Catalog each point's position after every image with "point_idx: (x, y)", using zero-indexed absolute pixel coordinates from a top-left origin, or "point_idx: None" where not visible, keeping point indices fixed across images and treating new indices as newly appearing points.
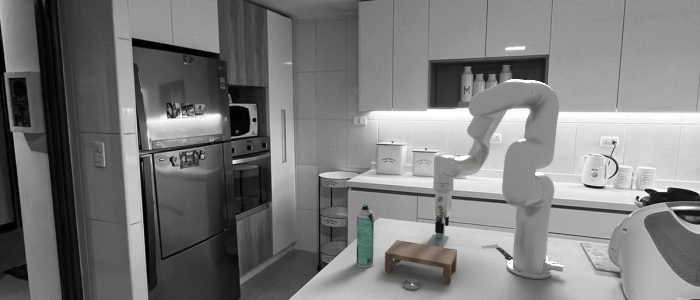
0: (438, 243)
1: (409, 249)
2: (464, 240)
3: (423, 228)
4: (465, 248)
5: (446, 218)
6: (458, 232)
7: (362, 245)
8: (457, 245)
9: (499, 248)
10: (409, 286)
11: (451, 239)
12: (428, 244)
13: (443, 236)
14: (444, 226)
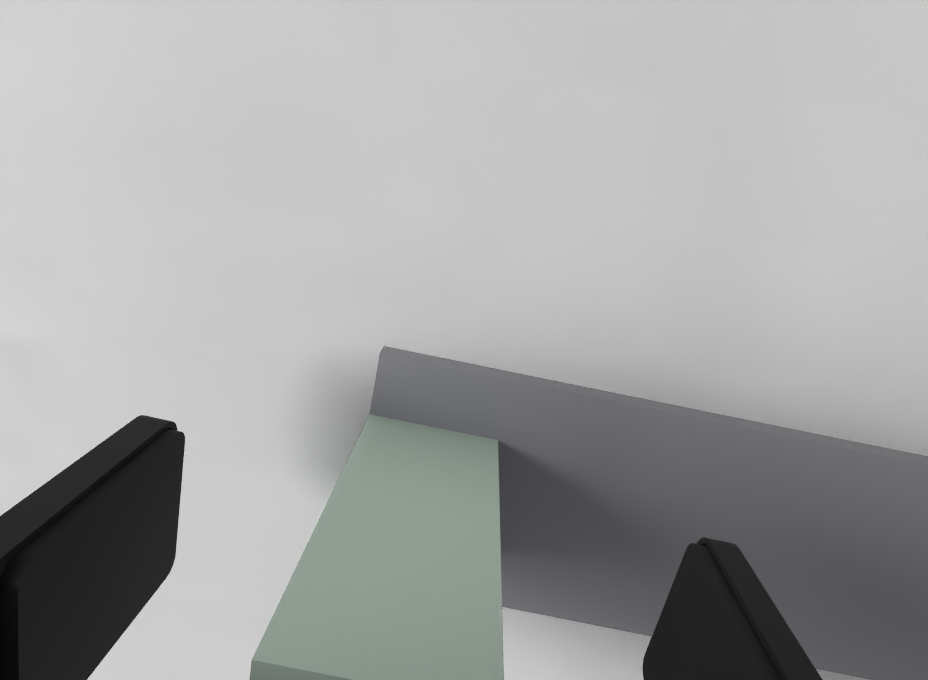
0: (752, 517)
1: None
2: (458, 62)
3: (89, 676)
4: (881, 72)
5: (63, 575)
6: (47, 153)
7: None
8: (740, 213)
9: None
10: None
11: (460, 300)
12: (807, 645)
13: (484, 450)
14: (385, 533)
